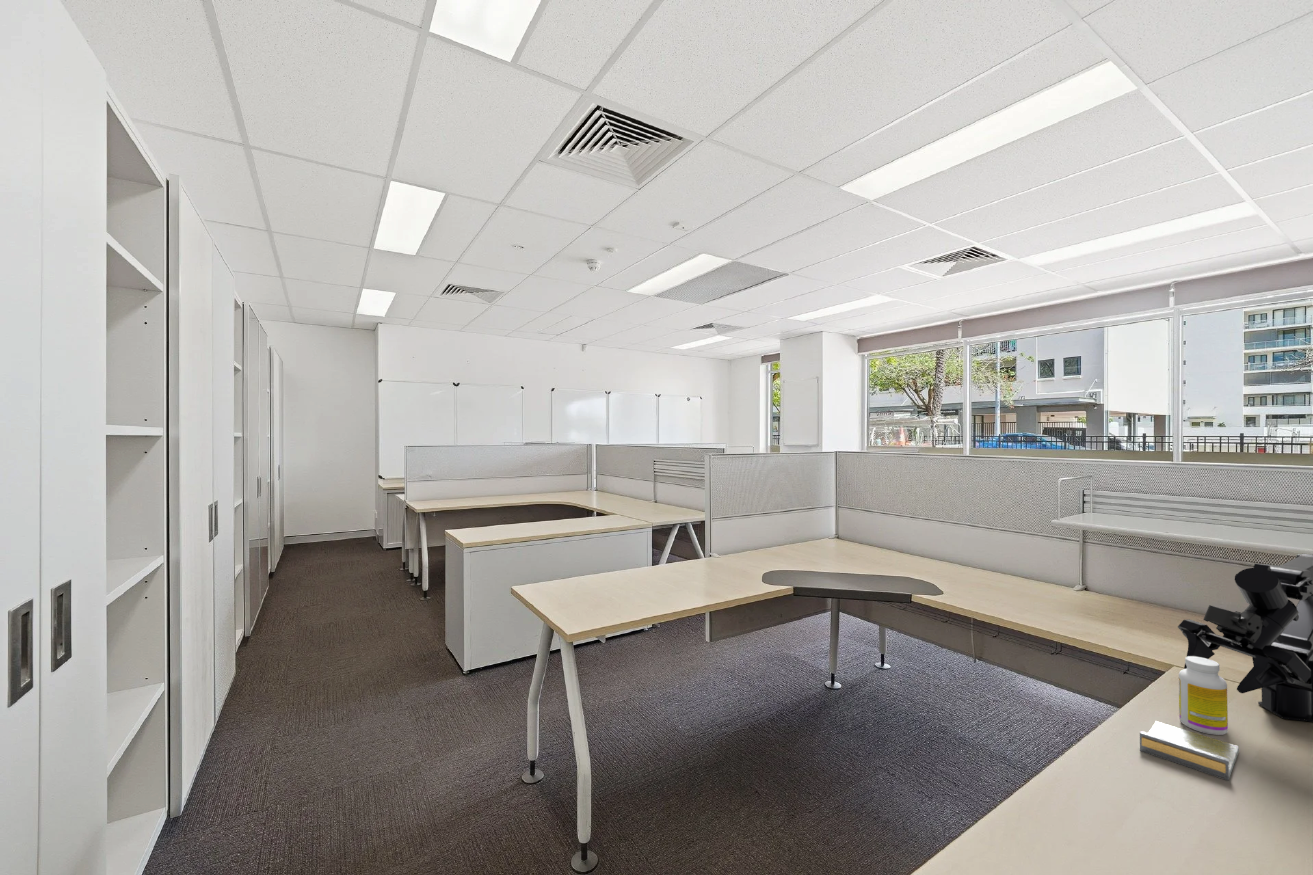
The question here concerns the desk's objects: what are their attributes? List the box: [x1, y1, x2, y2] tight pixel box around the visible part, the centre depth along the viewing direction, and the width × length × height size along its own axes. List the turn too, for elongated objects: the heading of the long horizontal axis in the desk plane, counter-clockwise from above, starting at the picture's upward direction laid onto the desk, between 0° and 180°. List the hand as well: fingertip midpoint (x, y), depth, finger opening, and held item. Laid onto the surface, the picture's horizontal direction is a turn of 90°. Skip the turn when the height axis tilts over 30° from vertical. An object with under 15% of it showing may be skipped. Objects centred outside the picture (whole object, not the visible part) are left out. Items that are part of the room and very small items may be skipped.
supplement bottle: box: [1178, 655, 1229, 736], centre depth 105 cm, size 7×7×13 cm
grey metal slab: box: [1139, 720, 1240, 781], centre depth 97 cm, size 13×11×3 cm
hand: (1211, 680), depth 105 cm, fingers open, 9 cm apart
